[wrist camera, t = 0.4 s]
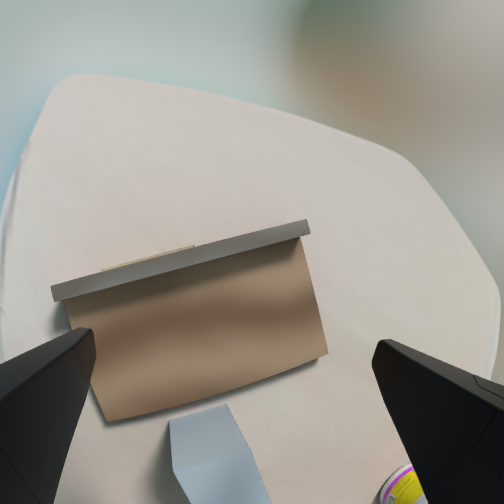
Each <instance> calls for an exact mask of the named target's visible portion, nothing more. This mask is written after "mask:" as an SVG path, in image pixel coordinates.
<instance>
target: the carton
mask: <svg viewBox="0 0 504 504" xmlns="http://www.w3.org/2000/svg"><path fill="white" fill-rule="evenodd" d="M169 424H170V440H171V453H172V465H173V472H174V474H175V476H176V478H177V480H178V481H179V483H180V485H181V487H182V489H183V490H184V492H185V494H186V496H187V497H188V499H189V501H190V503H191V504H272V503H271V501H270V498H269V496H268V493H267V491H266V488H265V486H264V483H263V481H262V478H261V475H260V473H259V470H258V468H257V465H256V462H255V460H254V457H253V454H252V452H251V449H250V447H249V445H248V443H247V442H246V440H245V438H244V436H243V434H242V432H241V430H240V429H239V427H238V425H237V423H236V421H235V419H234V417H233V415H232V413H231V411H230V409H229V407H228V405H227V404H224V405H220V406H217V407H214V408H211V409H207V410H204V411H200V412H197V413H193V414H190V415H186V416H182V417H179V418H175V419H171V420H169Z"/></svg>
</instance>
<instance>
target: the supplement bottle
mask: <svg viewBox="0 0 504 504" xmlns="http://www.w3.org/2000/svg"><path fill="white" fill-rule="evenodd" d="M380 502H381V504H428V501H427V500H426V497H425V495H424V492H423V490H422V487H421V485H420V483H419V480H418V478H417V475H416V473H415V471H414V468H413V466H412V464H411V463H410V464H407V465H405V466H403V467H402V468H400V469H399V470H397V471H396V472H395V473H394V474H393V475H392V476H391V477H390V478H389V480H388V481H387V482H386V484H385V485H384V487H383V489H382V491H381V494H380Z"/></svg>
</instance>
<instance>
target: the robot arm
mask: <svg viewBox="0 0 504 504" xmlns="http://www.w3.org/2000/svg"><path fill="white" fill-rule="evenodd" d="M95 361H96V346H95V339H94V333H93V330H92V329H91V328H85V327H78V328H76V329H74V330H72V331H70V332H67V333H65V334H63V335H61V336H59V337H57V338H55V339H53V340H51V341H48V342H46V343H44V344H42V345H40V346H38V347H36V348H34V349H31V350H29V351H27V352H25V353H23V354H21V355H19V356H17V357H15V358H12V359H10V360H8V361H6V362H4V363H2V364H0V504H53V503H54V499H55V495H56V491H57V488H58V484H59V480H60V477H61V473H62V470H63V467H64V463H65V460H66V457H67V453H68V450H69V447H70V444H71V441H72V438H73V435H74V432H75V429H76V426H77V423H78V420H79V417H80V414H81V412H82V409H83V406H84V403H85V400H86V397H87V393H88V389H89V385H90V380H91V376H92V372H93V368H94V365H95ZM372 369H373V371H374V374H375V377H376V380H377V383H378V386H379V389H380V392H381V395H382V398H383V400H384V403H385V405H386V407H387V410H388V412H389V414H390V416H391V418H392V421H393V423H394V425H395V427H396V429H397V432H398V434H399V436H400V438H401V441H402V443H403V445H404V447H405V450H406V452H407V454H408V457H409V459H410V461H411V464H412V466H413V468H414V471H415V473H416V475H417V478H418V480H419V483H420V485H421V487H422V490H423V492H424V495H425V497H426V500H427V501H428V504H504V386H503V385H500V384H497V383H494V382H492V381H489V380H486V379H484V378H481V377H479V376H476V375H474V374H473V375H472V374H471V373H469V372H467V371H464V370H462V369H460V368H457V367H455V366H452V365H450V364H448V363H445V362H443V361H441V360H438V359H436V358H433V357H431V356H429V355H426V354H424V353H422V352H419V351H417V350H415V349H412V348H410V347H408V346H406V345H403V344H401V343H399V342H396V341H394V340H392V339H383V340H380V341H379V342H378V344H377V347H376V350H375V353H374V356H373V359H372Z"/></svg>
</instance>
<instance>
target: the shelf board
mask: <svg viewBox="0 0 504 504" xmlns="http://www.w3.org/2000/svg"><path fill="white" fill-rule="evenodd" d="M308 234H311V233H310V229H309V226H308V222H307V219H305V220H301V221H297V222H293V223H288V224H284V225H280V226H276V227H272V228H268V229H264V230H260V231H256V232H252V233H248V234H244V235H240V236H236V237H232V238H228V239H224V240H220V241H216V242H213V243H209V244H205V245H201V246H197V247H195V246H194V245H192V246H188V247H184V248H181V249H177V250H173V251H169V252H165V253H161V254H158V255H154V256H150V257H146V258H143V259H139V260H135V261H131V262H128V263H124V264H120V265H117V266H113V267H109V268H106V269H102V270H101V272H99V273H96V274H92V275H88V276H85V277H81V278H78V279H74V280H70V281H67V282H63V283H60V284H56V285H53V286H50V287H51V291H52V295H53V299H54V302H57V301H61V300H63V301H64V305H65V308H66V312H67V315H68V319H69V322H70V326H71V329H72V330H74V329H76V328H78V327H85V328H91V329H92V330H93V333H94V339H95V346H96V361H95V365H94V368H93V372H92V376H91V380H90V383H91V385H92V388H93V390H94V393H95V395H96V398H97V400H98V402H99V405H100V407H101V409H102V412H103V414H104V416H105V418H106V420H107V422H110V421H115V420H120V419H125V418H129V417H134V416H138V415H143V414H147V413H151V412H155V411H159V410H163V409H167V408H171V407H175V406H179V405H182V404H186V403H190V402H193V401H197V400H200V399H204V398H207V397H210V396H214V395H217V394H220V393H223V392H226V391H229V390H233V389H236V388H239V387H242V386H245V385H248V384H251V383H253V382H256V381H259V380H262V379H265V378H268V377H270V376H273V375H276V374H278V373H281V372H284V371H286V370H289V369H292V368H294V367H297V366H299V365H302V364H304V363H307V362H309V361H312V360H314V359H316V358H319V357H321V356H324V355H326V354H328V349H327V345H326V340H325V336H324V331H323V327H322V323H321V318H320V314H319V310H318V306H317V302H316V298H315V293H314V289H313V285H312V281H311V277H310V273H309V270H308V266H307V262H306V258H305V254H304V250H303V246H302V243H301V239H300V237H301V236H304V235H308Z"/></svg>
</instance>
